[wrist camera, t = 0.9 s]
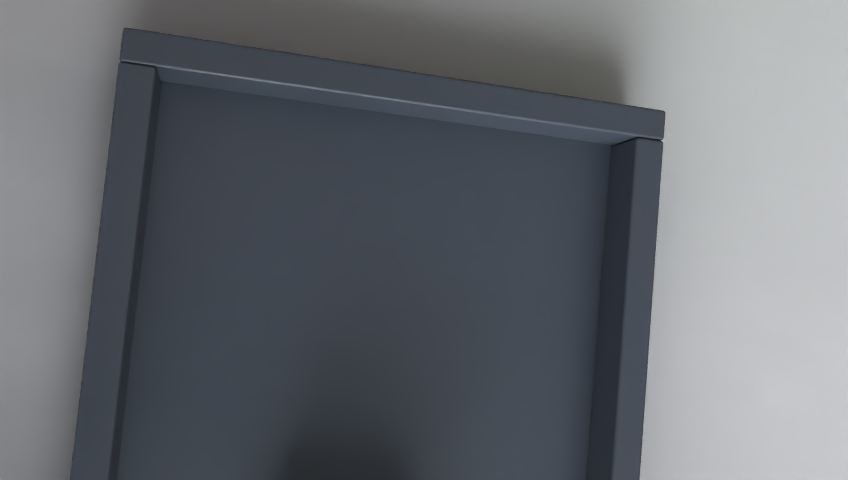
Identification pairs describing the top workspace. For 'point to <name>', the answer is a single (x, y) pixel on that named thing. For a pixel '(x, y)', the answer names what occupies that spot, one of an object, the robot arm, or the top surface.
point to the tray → (364, 274)
